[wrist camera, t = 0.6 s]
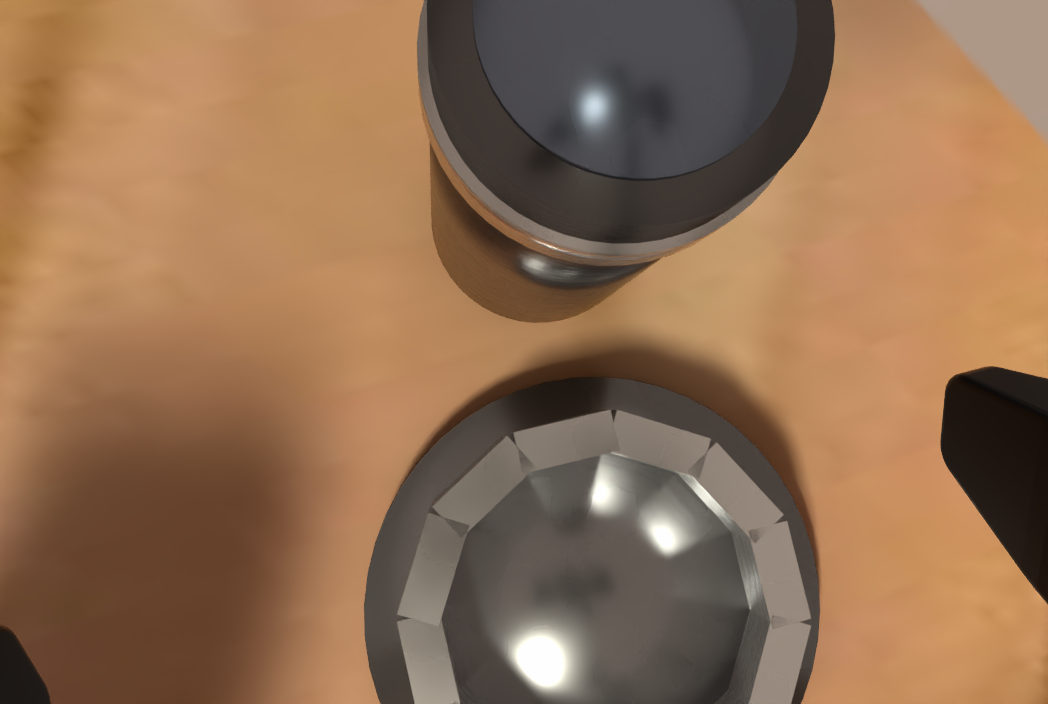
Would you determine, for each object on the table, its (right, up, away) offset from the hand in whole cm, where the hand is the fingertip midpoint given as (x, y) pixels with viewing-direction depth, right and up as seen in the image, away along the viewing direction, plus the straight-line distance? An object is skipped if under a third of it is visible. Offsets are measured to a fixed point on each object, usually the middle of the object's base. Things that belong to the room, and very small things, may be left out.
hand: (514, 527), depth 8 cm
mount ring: (+2, -5, +14) cm, 15 cm away
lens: (0, +5, +15) cm, 16 cm away
